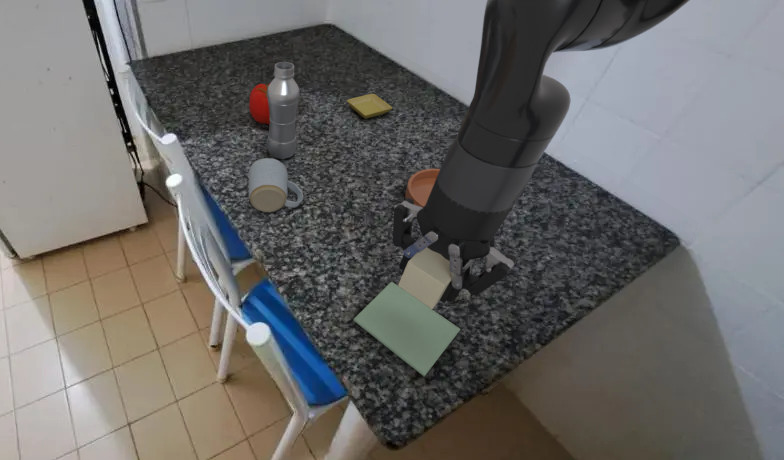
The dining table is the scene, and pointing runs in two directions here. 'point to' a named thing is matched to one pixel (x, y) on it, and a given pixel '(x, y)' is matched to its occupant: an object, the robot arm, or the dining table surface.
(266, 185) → the ceramic mug
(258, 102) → the tomato
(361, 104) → the saucer
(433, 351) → the mat
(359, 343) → the dining table surface
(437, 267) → the block
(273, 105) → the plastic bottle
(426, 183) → the terracotta dish
